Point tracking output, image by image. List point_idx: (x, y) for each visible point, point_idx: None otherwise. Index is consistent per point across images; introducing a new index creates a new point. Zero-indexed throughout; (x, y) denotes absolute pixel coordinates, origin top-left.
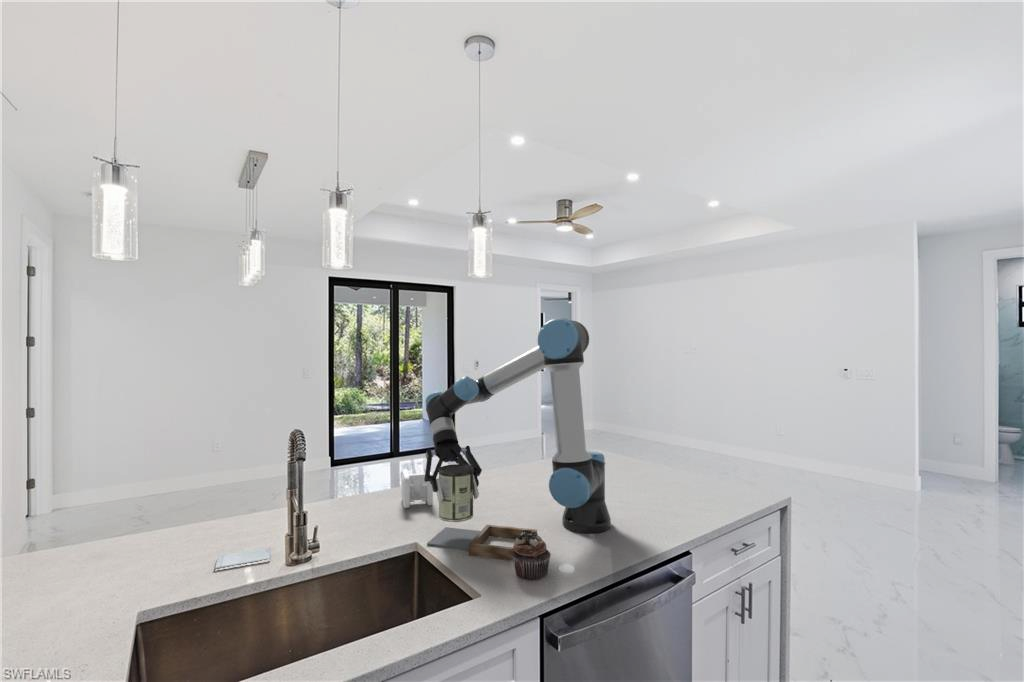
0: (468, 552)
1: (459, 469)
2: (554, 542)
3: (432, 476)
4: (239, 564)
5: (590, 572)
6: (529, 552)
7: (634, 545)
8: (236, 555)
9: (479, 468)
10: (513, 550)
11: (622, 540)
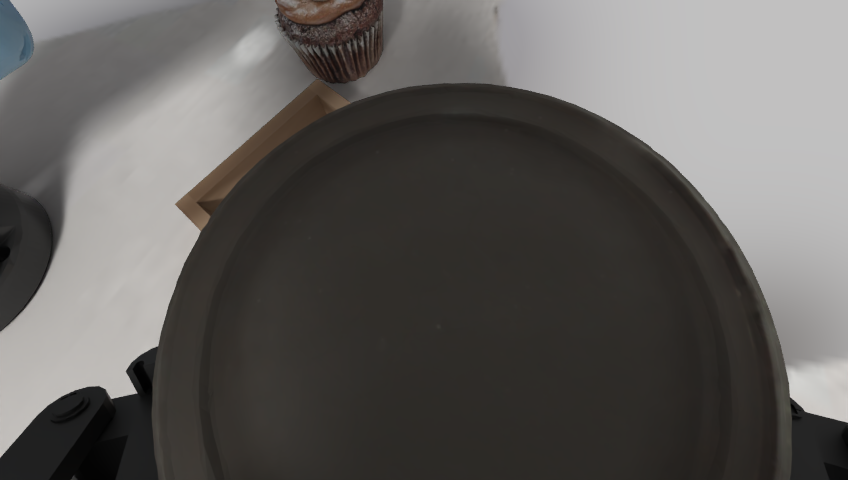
0: None
1: (414, 262)
2: (169, 182)
3: (801, 412)
4: None
5: (225, 15)
6: None
7: (18, 88)
8: None
9: (41, 436)
10: (373, 2)
11: (9, 123)
